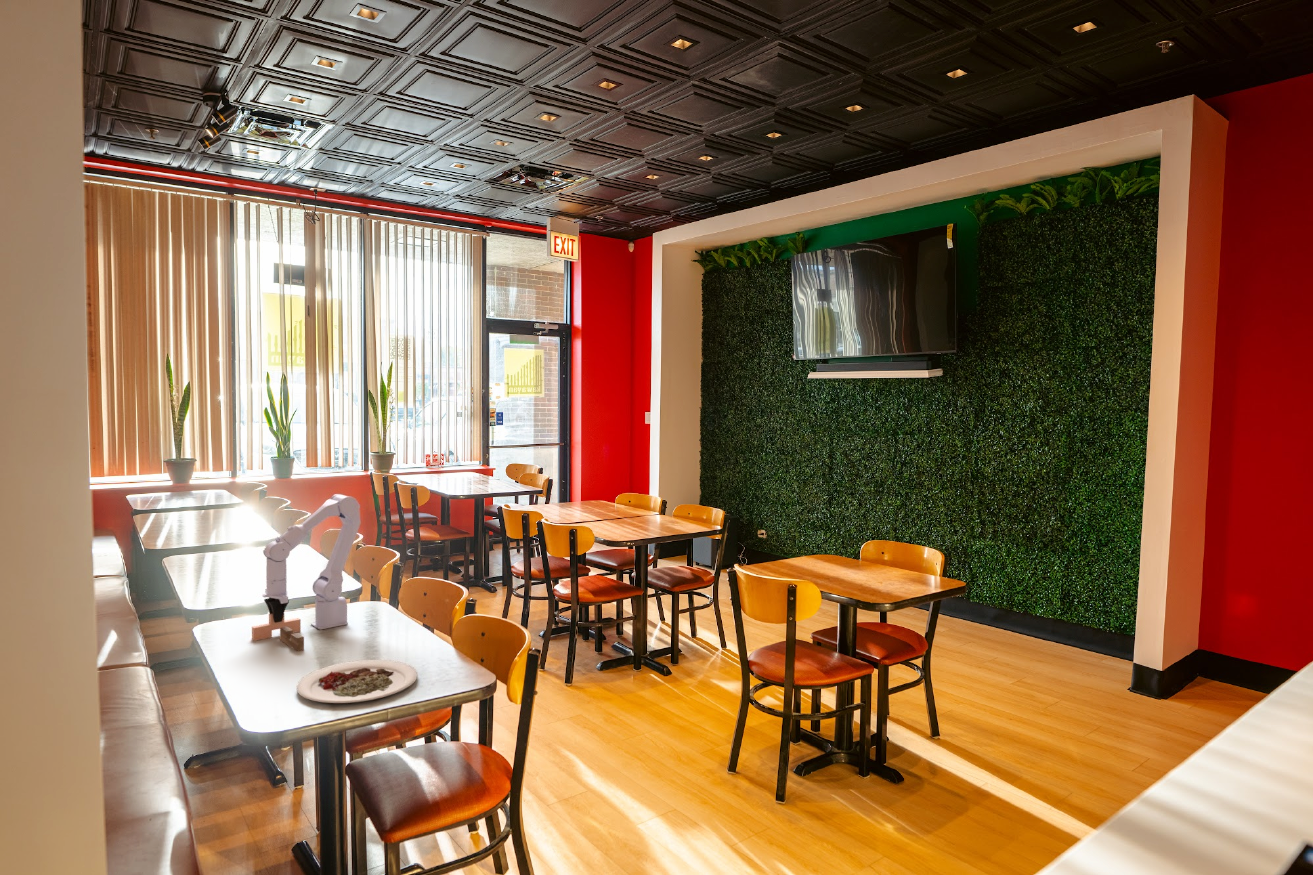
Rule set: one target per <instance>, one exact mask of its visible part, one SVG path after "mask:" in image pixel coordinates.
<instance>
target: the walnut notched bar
mask: <svg viewBox="0 0 1313 875" xmlns="http://www.w3.org/2000/svg"><path fill="white" fill-rule="evenodd" d="M279 640H280V641H281V642H282V643H284V644H285V645H287V646H288V647H290V648H291V649H293V650H294V651H296V652H300V651H304V650H305V636H303V634H300V633H299V632H295V633H293V630H292V629H290V628H289V627H282V628H280V629H279Z"/></svg>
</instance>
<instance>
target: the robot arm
mask: <svg viewBox="0 0 1313 875" xmlns="http://www.w3.org/2000/svg"><path fill="white" fill-rule="evenodd" d="M360 508H361V504H359V501H358V500H357V499H356V497H353V496H350V495H349V496H348V495H344V494H342V493H336V494H333V495H332V496H331V497H330V498H329V499H327V500H325V501H324V503H323V504H322V505H321V506H319V508H318V509H316V511H314V512H312V514H311V515H309V517H308V518H306V519H305V520H304V521H303V522H302V523H300V524H293V526H292V525H290V526H287V530H286V531H285V532H284V533H282V534H281V535H280V536H277V537H275V540H273V541H270V542H269V543H267V544H266V545H265V548H264V550H263V551H262V552H263V555H264V557H265V558H266V572H265V573H266V576H265V577H266V588H265V592H264V593H262V597H263V598H264V599H263V600H264V603H265V604H266V607H267V610H268V611H269V612H268V613H269V614H273V619H274V622H275V623H277V622H282V619H283V615H284V616H285V610H286V608H287V606H288V604H289V603H290V600H289V596H288V590H287V559H288V557H289V556H290V553H291V551H293V550H294V549H295V548H297V546H299V545H300V544H301V543H302V542H303V541H305V540H306V539H307V538H308V535H309V534H308V533H309V532H310V531H312V530H313V529H314V528H316V527H317V526H318V525H320V524H321V523H322V522H324V521H325V520H326V519H327V518H330V517H338V518H339V520H340V521H341V524H342V525H341V528H340V530H339V533H338V535H337V538H336V541H335V544H334V547H333V548H332V551H331V553H330V556H329V559H328V561H327V563H326V566H325V568H324V569H323V570H322V571H321V572H320V573H319V575H318V577H317V578H316V579H315V581H314V582H313V584H312V590H313V593H314V594H315V595H316V596H315V602H314V604H315V606H314V607H315V609H314V610H315V617H314V620H315V621H314V622H311V623H310V626H313V627H314V628H316V629H318V630H325V629H330V628H334V627H340V626H344V625H345V626H346V625H348V624H349V622H348V602H347V600H346V598H345V597H344V596H341V595H342V591H343V586H342V585H343V581H344V577H343V571H344V569H345V566H346V563H347V560H348V558H349V555H350V552H351V550H352V548H353V544H354V542H355V539H356V537H357V534H358V531H359V529H360V526H361V524H362V523H361V513H360V510H361V509H360Z"/></svg>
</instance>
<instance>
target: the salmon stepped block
mask: <svg viewBox="0 0 1313 875" xmlns="http://www.w3.org/2000/svg"><path fill="white" fill-rule="evenodd" d="M301 621H302V620H301V618H299V617H298V618H292V619H291V618H290V619H285V614H284V615H283V619H282V622H277V623H275V622H274V619H273V614H270V613H269V614H268V623H264V624H259V625H258V624H257V625H253V626H251V640H253V641H258V640H265V639H270V638H272V637H273V632H272V631H276V630H280V628H282V627H289V628H290V629H292V630H293V634H294V633H299V632H301V630H302V629H301V627H302V626H301V623H302V622H301Z"/></svg>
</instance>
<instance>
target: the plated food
mask: <svg viewBox="0 0 1313 875" xmlns="http://www.w3.org/2000/svg"><path fill="white" fill-rule="evenodd" d="M417 679H418V671H417V668H415V666H412V665H411V664H408V663H406V662H403V661H402V662H401V661H396V660H391V659H361V660H354V661H353V660H352V661H347V662H346V661H345V662H341V663H335V664H332V665H328V666H325V667H322V668H320V669H317V670H314V671H312V672H310V673H308V674H307V675H304V676H303V677H302V678H301V679H300V680H299V681H297V682H298V683H297V685H296V692H297V693H298V694H299V696H301V697H302V698H304V699H306V700H311V701H313V702H319V703H329V704H348V703H349V704H350V703H361V702H366V701H373V700H377V699H381V698H384V697H385V698H386V697H388V696H391V695H394V694H396V693H397V694H398V693H399V692H402V691H404V690H405V689H407V688H409V687H410V686H411V685H413V684H414V682H416V680H417Z"/></svg>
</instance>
